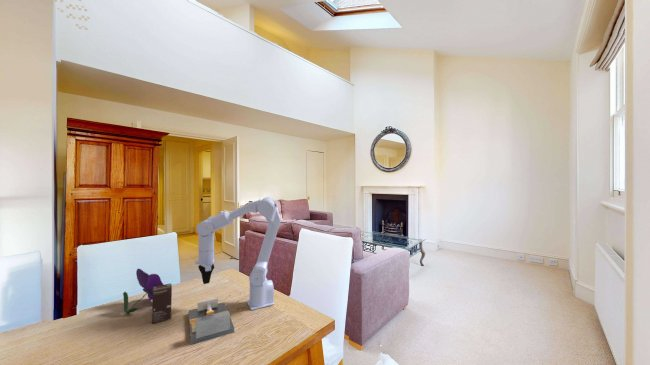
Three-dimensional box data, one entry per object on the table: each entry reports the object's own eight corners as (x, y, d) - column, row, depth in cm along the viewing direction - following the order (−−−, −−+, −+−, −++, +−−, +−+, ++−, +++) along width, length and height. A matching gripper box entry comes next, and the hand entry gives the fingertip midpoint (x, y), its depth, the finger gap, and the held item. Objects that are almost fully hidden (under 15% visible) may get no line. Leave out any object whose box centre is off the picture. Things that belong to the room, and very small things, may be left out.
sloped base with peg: (188, 314, 96) (188, 297, 96) (224, 305, 103) (224, 290, 103) (190, 344, 79) (191, 324, 79) (234, 332, 86) (234, 313, 86)
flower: (148, 328, 96) (176, 297, 107) (129, 302, 89) (160, 272, 100) (121, 320, 100) (150, 292, 111) (101, 295, 93) (134, 267, 104)
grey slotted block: (197, 309, 96) (197, 301, 96) (217, 304, 100) (217, 297, 100) (199, 320, 89) (199, 311, 89) (220, 314, 93) (220, 306, 93)
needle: (189, 322, 87) (189, 315, 87) (213, 316, 91) (213, 310, 91) (190, 324, 87) (190, 317, 87) (214, 318, 90) (214, 311, 90)
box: (152, 324, 89) (152, 290, 89) (152, 318, 93) (152, 286, 93) (171, 319, 93) (172, 287, 92) (171, 313, 96) (171, 282, 96)
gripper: (194, 246, 106) (194, 278, 107) (196, 256, 94) (196, 292, 94) (212, 244, 110) (212, 275, 110) (217, 253, 97) (216, 288, 98)
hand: (206, 283), depth 102 cm, fingers closed
